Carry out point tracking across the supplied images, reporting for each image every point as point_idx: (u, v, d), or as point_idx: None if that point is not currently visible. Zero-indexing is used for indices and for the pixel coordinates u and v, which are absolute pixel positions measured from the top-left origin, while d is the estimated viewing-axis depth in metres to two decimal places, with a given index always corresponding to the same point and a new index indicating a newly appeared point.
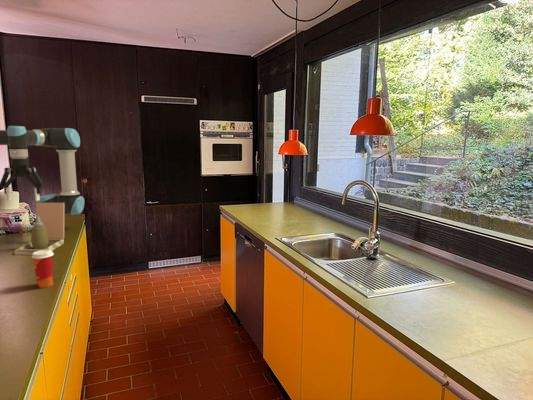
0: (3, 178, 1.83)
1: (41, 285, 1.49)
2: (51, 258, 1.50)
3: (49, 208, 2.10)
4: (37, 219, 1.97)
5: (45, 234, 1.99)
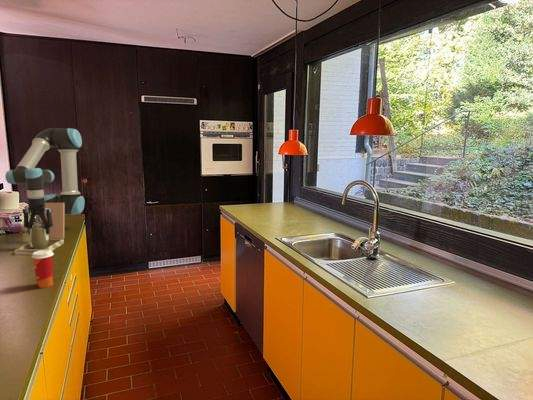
0: (25, 219, 1.96)
1: (41, 285, 1.49)
2: (51, 258, 1.50)
3: (49, 208, 2.10)
4: (37, 219, 1.97)
5: None
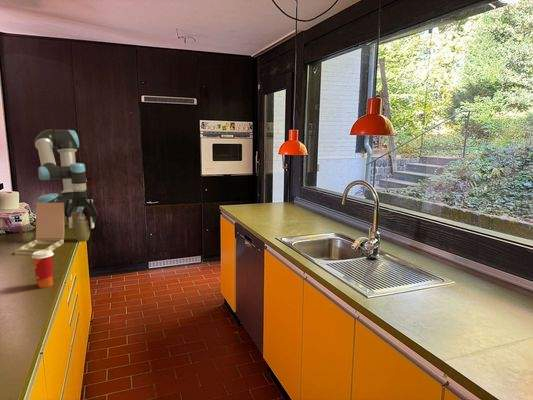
0: (66, 209, 2.12)
1: (41, 285, 1.49)
2: (51, 258, 1.50)
3: (49, 208, 2.10)
4: (80, 213, 2.13)
5: (87, 227, 2.15)
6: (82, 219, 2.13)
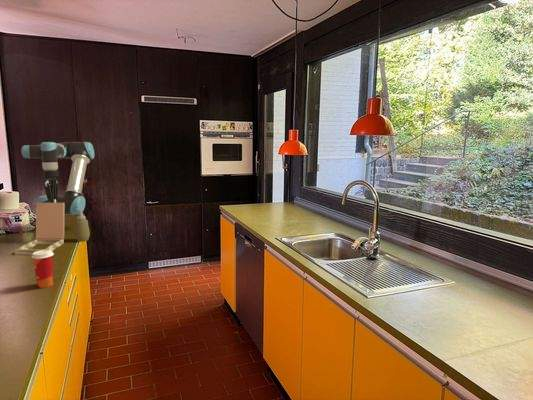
0: None
1: (41, 285, 1.49)
2: (51, 258, 1.50)
3: (49, 208, 2.10)
4: (80, 213, 2.14)
5: (87, 227, 2.15)
6: (82, 219, 2.13)
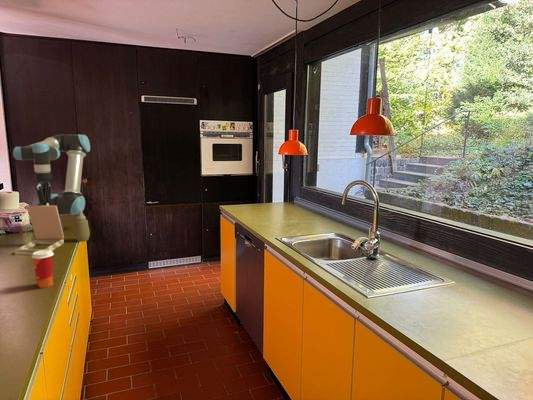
0: None
1: (41, 285, 1.49)
2: (51, 258, 1.50)
3: (42, 211, 2.02)
4: (80, 213, 2.14)
5: (87, 227, 2.15)
6: (82, 219, 2.13)
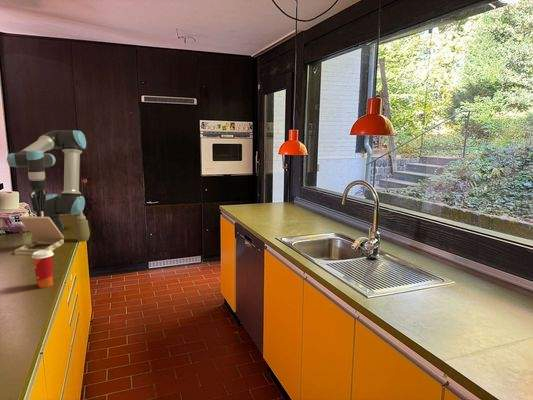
0: None
1: (41, 285, 1.49)
2: (51, 258, 1.50)
3: (36, 221, 1.96)
4: (80, 213, 2.13)
5: (87, 227, 2.15)
6: (82, 219, 2.13)
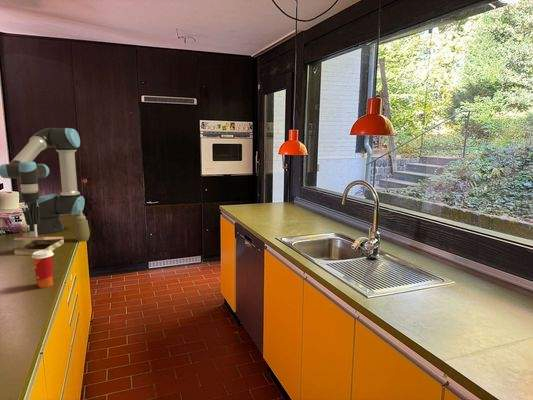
0: None
1: (41, 285, 1.49)
2: (51, 258, 1.50)
3: None
4: (80, 213, 2.14)
5: (87, 227, 2.15)
6: (82, 219, 2.13)
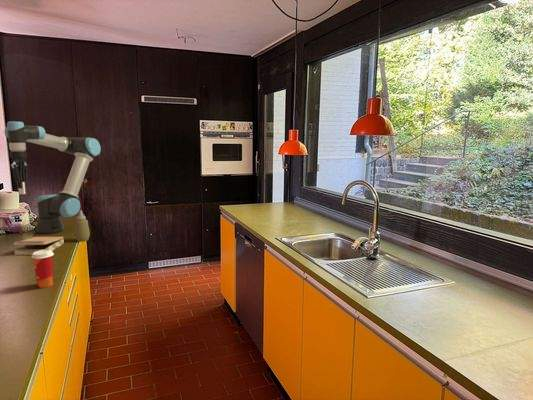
0: None
1: (41, 285, 1.49)
2: (51, 258, 1.50)
3: None
4: (80, 213, 2.13)
5: (87, 227, 2.15)
6: (82, 219, 2.13)
